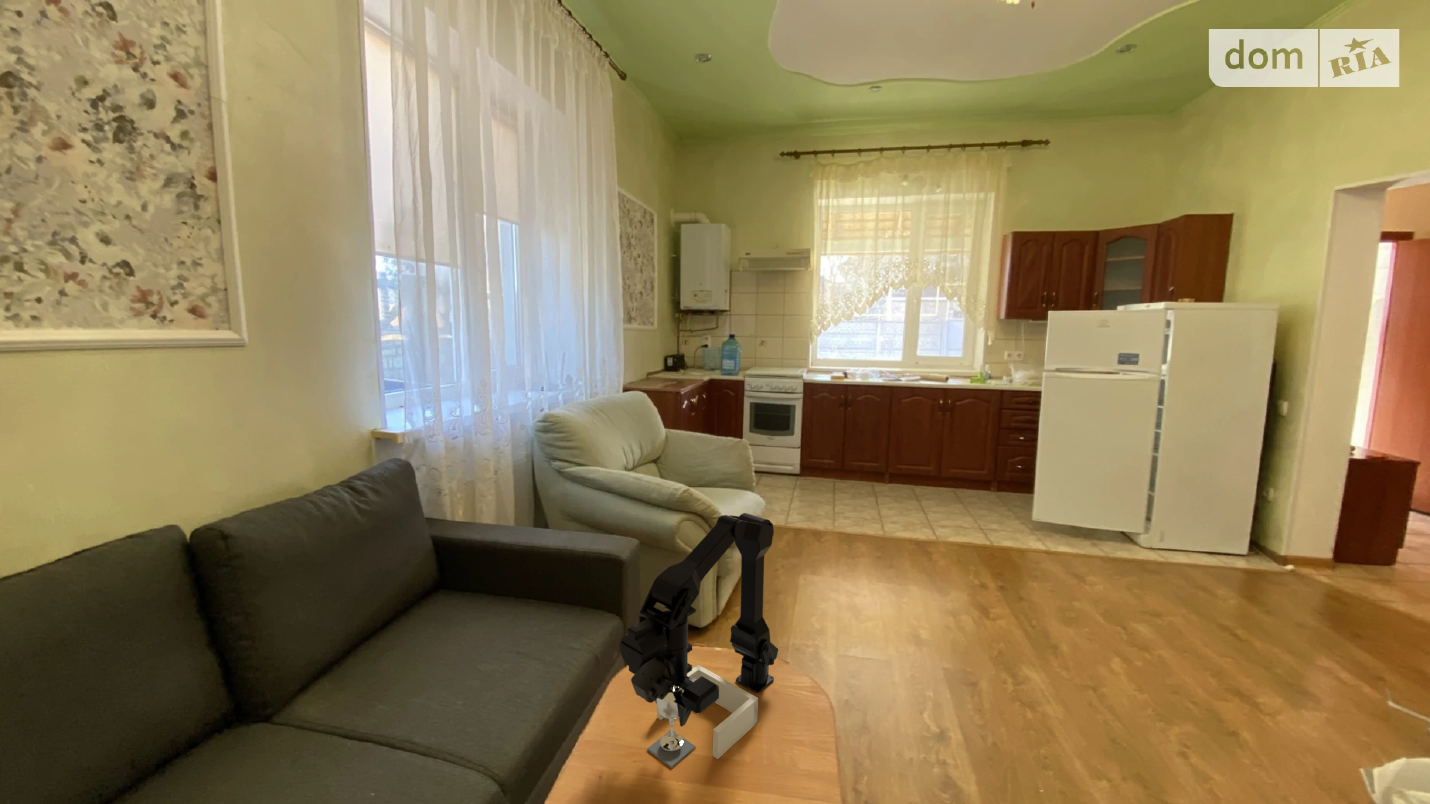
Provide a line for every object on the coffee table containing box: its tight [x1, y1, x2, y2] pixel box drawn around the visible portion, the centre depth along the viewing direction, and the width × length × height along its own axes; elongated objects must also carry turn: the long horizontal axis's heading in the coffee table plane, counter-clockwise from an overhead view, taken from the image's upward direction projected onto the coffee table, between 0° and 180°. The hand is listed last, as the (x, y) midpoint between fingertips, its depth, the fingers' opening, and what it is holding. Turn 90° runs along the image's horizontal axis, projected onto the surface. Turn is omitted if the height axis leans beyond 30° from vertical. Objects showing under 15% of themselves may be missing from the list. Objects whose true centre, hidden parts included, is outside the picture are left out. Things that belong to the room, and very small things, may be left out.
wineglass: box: [656, 686, 684, 751], centre depth 102 cm, size 6×6×12 cm
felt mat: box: [646, 729, 696, 769], centre depth 103 cm, size 6×6×1 cm
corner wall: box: [656, 664, 759, 760], centre depth 111 cm, size 13×16×6 cm
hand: (672, 717), depth 103 cm, fingers closed on wineglass, 5 cm apart
